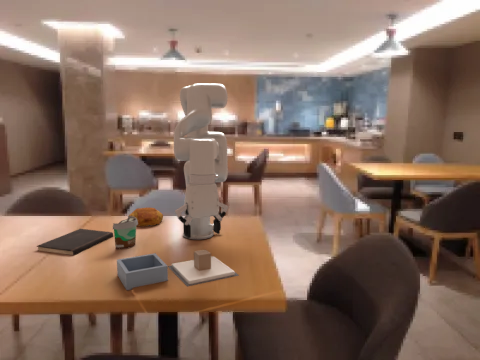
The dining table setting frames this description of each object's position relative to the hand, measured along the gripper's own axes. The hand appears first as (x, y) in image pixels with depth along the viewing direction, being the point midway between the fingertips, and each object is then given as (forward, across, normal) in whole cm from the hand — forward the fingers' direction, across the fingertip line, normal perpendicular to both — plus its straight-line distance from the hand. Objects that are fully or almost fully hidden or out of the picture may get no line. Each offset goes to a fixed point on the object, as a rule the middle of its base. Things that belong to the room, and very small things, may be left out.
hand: (202, 234), depth 119 cm
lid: (+12, 0, -1) cm, 12 cm away
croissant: (+11, 0, -65) cm, 66 cm away
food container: (+12, +14, -37) cm, 41 cm away
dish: (+12, +18, -5) cm, 22 cm away
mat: (+12, 0, -1) cm, 12 cm away
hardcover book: (+12, +31, -49) cm, 59 cm away
